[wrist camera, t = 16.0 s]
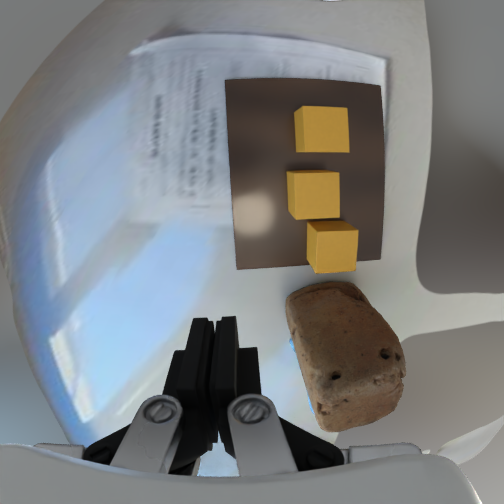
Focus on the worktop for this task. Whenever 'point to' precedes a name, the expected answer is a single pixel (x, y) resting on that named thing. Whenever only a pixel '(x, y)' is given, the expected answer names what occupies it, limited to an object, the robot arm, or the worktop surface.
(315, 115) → the ochre block
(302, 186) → the ochre block
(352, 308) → the brown rounded lump
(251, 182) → the mat
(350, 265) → the ochre block
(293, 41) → the worktop surface
